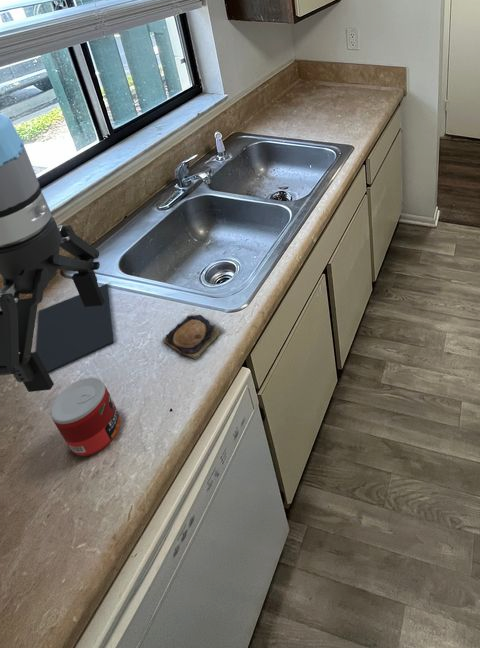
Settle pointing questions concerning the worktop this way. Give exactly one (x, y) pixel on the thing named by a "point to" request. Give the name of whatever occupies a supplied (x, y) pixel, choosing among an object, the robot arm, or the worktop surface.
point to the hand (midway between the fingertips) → (70, 342)
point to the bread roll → (192, 336)
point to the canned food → (86, 416)
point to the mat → (73, 331)
